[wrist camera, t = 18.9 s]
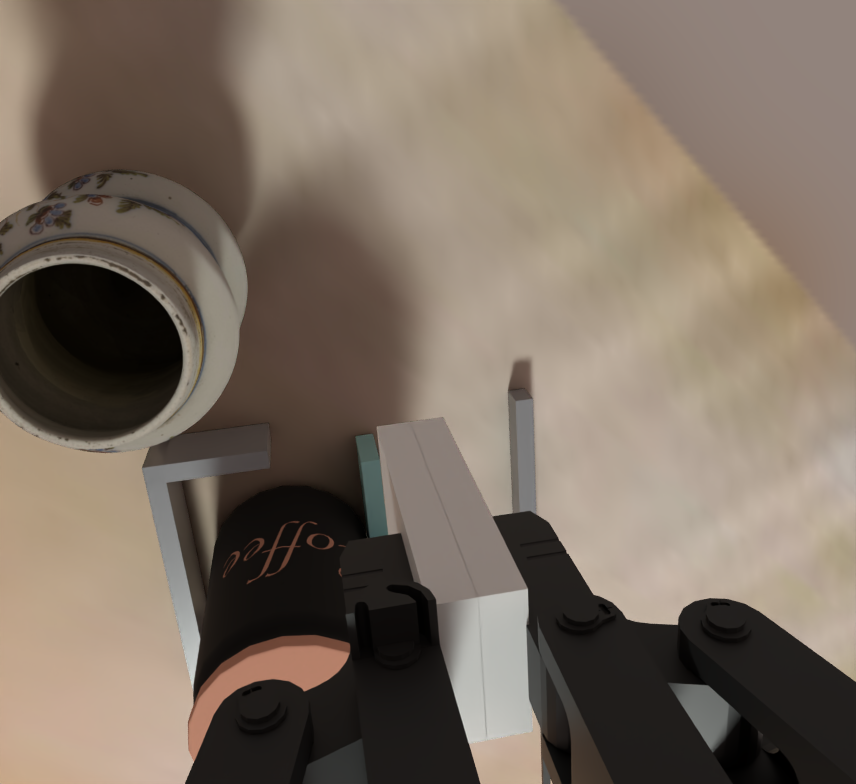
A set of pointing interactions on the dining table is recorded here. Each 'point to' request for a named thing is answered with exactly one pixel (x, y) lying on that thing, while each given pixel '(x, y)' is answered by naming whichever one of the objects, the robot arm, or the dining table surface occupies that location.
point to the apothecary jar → (117, 311)
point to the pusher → (371, 486)
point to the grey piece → (253, 452)
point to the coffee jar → (274, 598)
